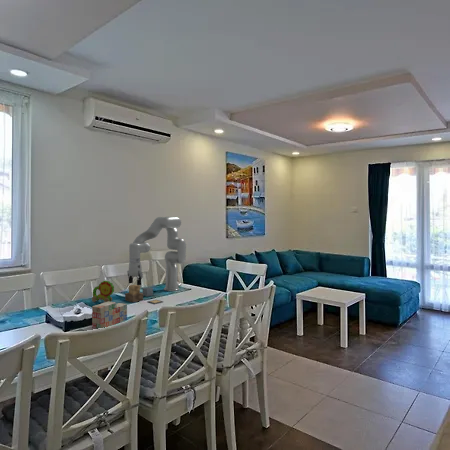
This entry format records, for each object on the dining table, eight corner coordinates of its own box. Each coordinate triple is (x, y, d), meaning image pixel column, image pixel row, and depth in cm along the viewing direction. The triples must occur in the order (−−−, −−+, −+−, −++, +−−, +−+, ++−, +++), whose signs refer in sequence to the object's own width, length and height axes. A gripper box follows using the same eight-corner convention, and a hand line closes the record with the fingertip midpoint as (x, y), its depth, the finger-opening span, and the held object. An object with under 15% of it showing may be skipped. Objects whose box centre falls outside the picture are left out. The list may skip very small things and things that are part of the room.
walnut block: (135, 298, 265) (135, 291, 265) (143, 300, 260) (143, 293, 259) (125, 300, 258) (125, 293, 258) (132, 302, 253) (132, 295, 253)
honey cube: (135, 292, 263) (135, 284, 263) (139, 293, 259) (139, 285, 259) (128, 293, 259) (128, 285, 258) (133, 294, 255) (133, 286, 255)
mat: (156, 300, 261) (156, 299, 261) (163, 302, 255) (163, 301, 255) (147, 302, 254) (147, 301, 254) (154, 304, 249) (154, 303, 249)
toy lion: (91, 301, 252) (91, 280, 251) (95, 300, 257) (96, 279, 256) (110, 304, 247) (111, 282, 247) (115, 302, 253) (115, 280, 252)
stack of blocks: (118, 318, 217) (119, 297, 216) (127, 319, 214) (127, 299, 213) (91, 328, 197) (92, 305, 197) (100, 330, 195) (100, 307, 194)
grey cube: (148, 294, 278) (148, 287, 278) (152, 295, 275) (152, 288, 275) (142, 295, 274) (142, 288, 274) (147, 296, 271) (147, 289, 270)
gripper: (146, 261, 255) (146, 285, 256) (131, 258, 266) (132, 281, 267) (137, 262, 250) (138, 286, 251) (123, 259, 261) (123, 283, 262)
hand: (134, 284), depth 259 cm, fingers open, 9 cm apart
